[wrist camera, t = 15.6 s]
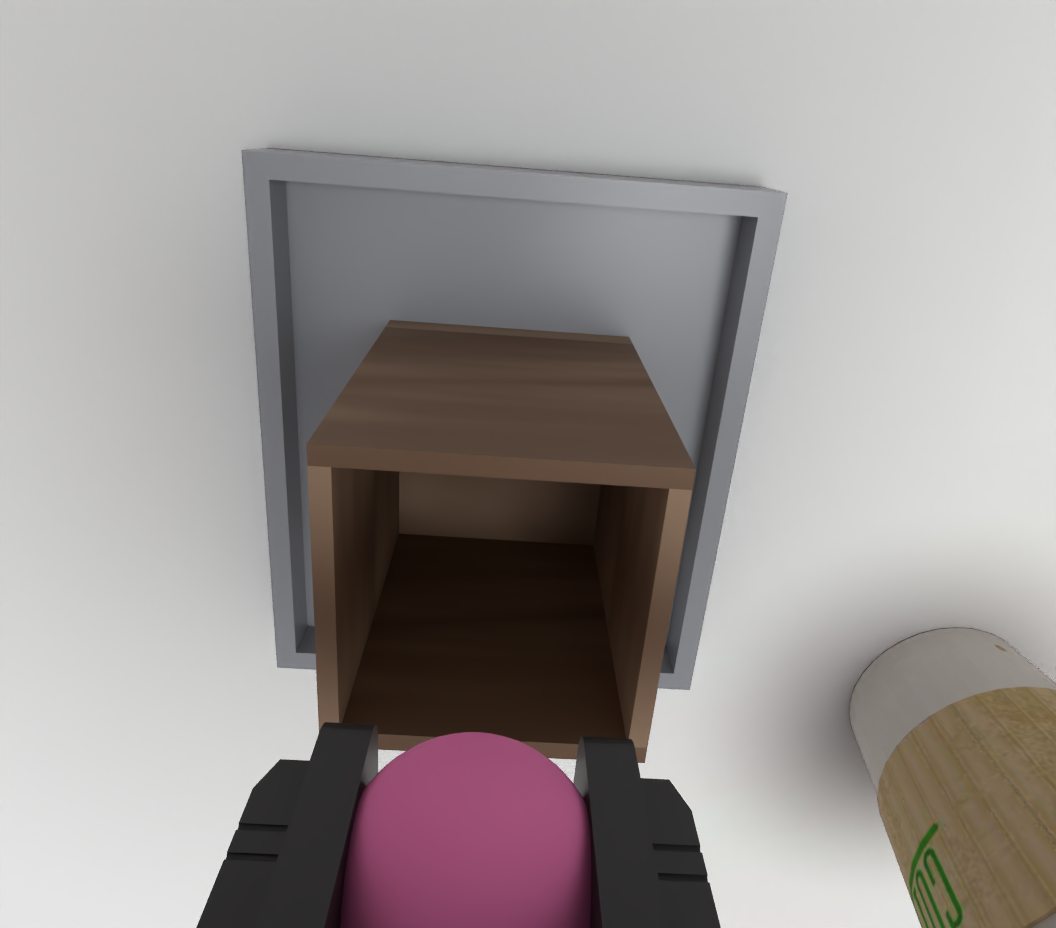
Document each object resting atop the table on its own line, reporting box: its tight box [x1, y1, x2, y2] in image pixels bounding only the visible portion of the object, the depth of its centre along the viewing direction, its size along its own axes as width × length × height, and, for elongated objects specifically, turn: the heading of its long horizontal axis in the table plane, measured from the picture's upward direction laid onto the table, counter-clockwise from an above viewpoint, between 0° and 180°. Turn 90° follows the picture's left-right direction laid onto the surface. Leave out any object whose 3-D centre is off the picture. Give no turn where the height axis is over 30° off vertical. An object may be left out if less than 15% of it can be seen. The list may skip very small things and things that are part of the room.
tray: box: [242, 148, 787, 690], centre depth 22 cm, size 15×13×2 cm
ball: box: [340, 732, 591, 928], centre depth 10 cm, size 3×3×3 cm
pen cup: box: [306, 320, 696, 763], centre depth 19 cm, size 7×7×9 cm
